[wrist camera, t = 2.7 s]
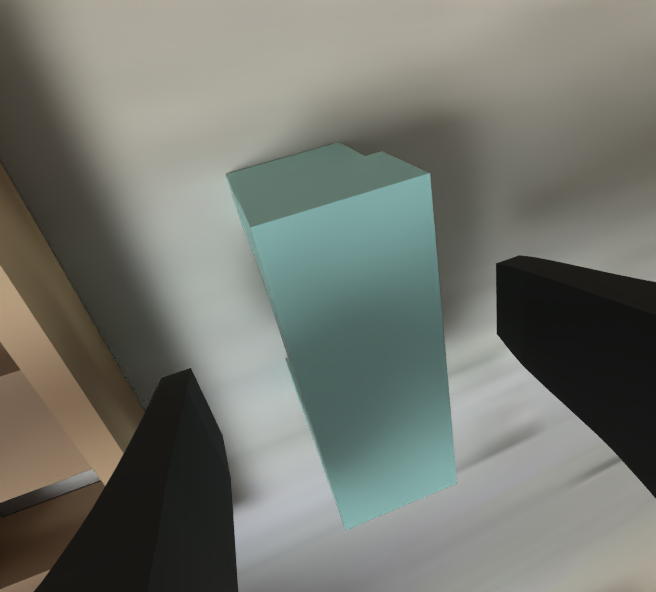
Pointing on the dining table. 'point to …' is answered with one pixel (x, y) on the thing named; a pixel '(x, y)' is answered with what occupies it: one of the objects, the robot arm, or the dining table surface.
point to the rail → (50, 399)
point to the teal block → (357, 317)
